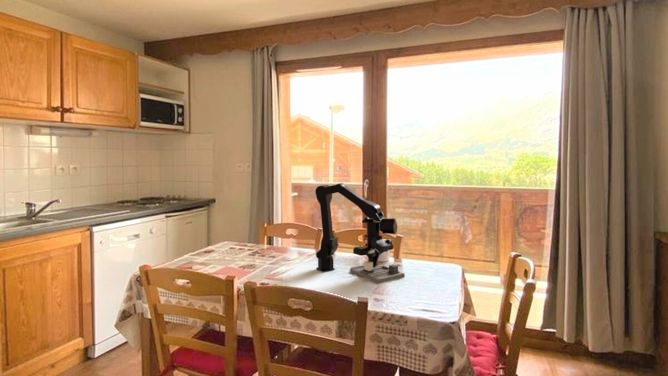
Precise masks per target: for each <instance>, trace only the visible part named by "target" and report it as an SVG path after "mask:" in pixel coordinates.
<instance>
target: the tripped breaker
mask: <svg viewBox="0 0 668 376" xmlns="http://www.w3.org/2000/svg"><path fill="white" fill-rule="evenodd" d="M363 265H364V269H363V271H366V272H369V274H370V273H374V270H373V262H371V261H368V260H365V261H364V262H363Z"/></svg>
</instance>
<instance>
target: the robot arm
mask: <svg viewBox="0 0 668 376" xmlns="http://www.w3.org/2000/svg"><path fill="white" fill-rule="evenodd" d="M314 191H315V196H316V199H317V202H318V203H319V206H320V219H321V229H322V237H321V240H320V248H319V250H318V251H317V252H316V253H315V256H316V258H317V267H316V269H317V270H318V271H321V272H330V271H335V268H334V258H333V255H335V252H336V251H337V250H338V248H339V243H338V242H339V237H335V235H334V231H333V221H332V209H331V203H332V199H333V194H337V193H338V194H341V196H343V197H344V198H345V199H347V200H348V201H350V202H351V203H353V204H354V205H355V206H357V207H358V208H359V210H360V211H361V212H362V213H363V214H364V215H365V216H366V217H365V218H364V219H363V220H362V221H361V222H362V223H365V224H366V234H364V237H365V238H366V243H365V245H364V246H362V245H358V246H355V247H353V249H352V250H353V253H352V254H355V255H358V256H361V257H362V256H366V257H367V259H368V258H369V260H370V261H371V262H373V267H375V266H376V263H377V264H378V261H377V260H378V258H379V255H381V254H382V253H383V252H388V250H389V251H391V250H394V243H393V242H392V240H391V239H390V238H389V239H386V240H383V239H384V238H383V235H381V233H382V234H387V235H396V234H397V232H398V223H397V219H396V218H395V217H393V218H390V217H389V218H386V216H385V215H384V213H383V211H382V208H381V206H380V205H379V204H377V203H375V202H374V201H371V200H367V199H365V198H364V197H362V196H361V195H360V194H359V193H357V192H355V191H354V190H352V189H351V188H350V187H348V186H347V185H346V184H345V183H343V182H340V183H337V184H333V185H329V184H323V185H318V186H317V187H316V189H315V190H314Z"/></svg>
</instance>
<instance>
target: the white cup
mask: <svg viewBox="0 0 668 376" xmlns="http://www.w3.org/2000/svg"><path fill="white" fill-rule="evenodd" d="M382 239H383V240H387V239H386V238H385V239H384V238H382ZM389 260H390V250H388V252H383V253H382V254H381V255H379V258H378V260H377V262H384V263H385V262H388V261H389Z"/></svg>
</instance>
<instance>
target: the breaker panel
mask: <svg viewBox="0 0 668 376" xmlns="http://www.w3.org/2000/svg"><path fill="white" fill-rule="evenodd" d="M367 261H370V260H369V258H368V257H367ZM363 269H364V264H362V265H357V266H351V267H350V269H349V273H351V274H354V275H356V276H359V277H362V278H364V279H366V280H369V281H372V282H375V283H377V284H380V283H384V282H389V281H394V280H397V279H401V278H405V272H401V271H399V266H398V265H396V264H389V265H388V266H387V265H386V266H385V265H380V264H378V262H377V263H376V266H375V267H373V270H374V273H370V274H369V272H366V271H363Z"/></svg>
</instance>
